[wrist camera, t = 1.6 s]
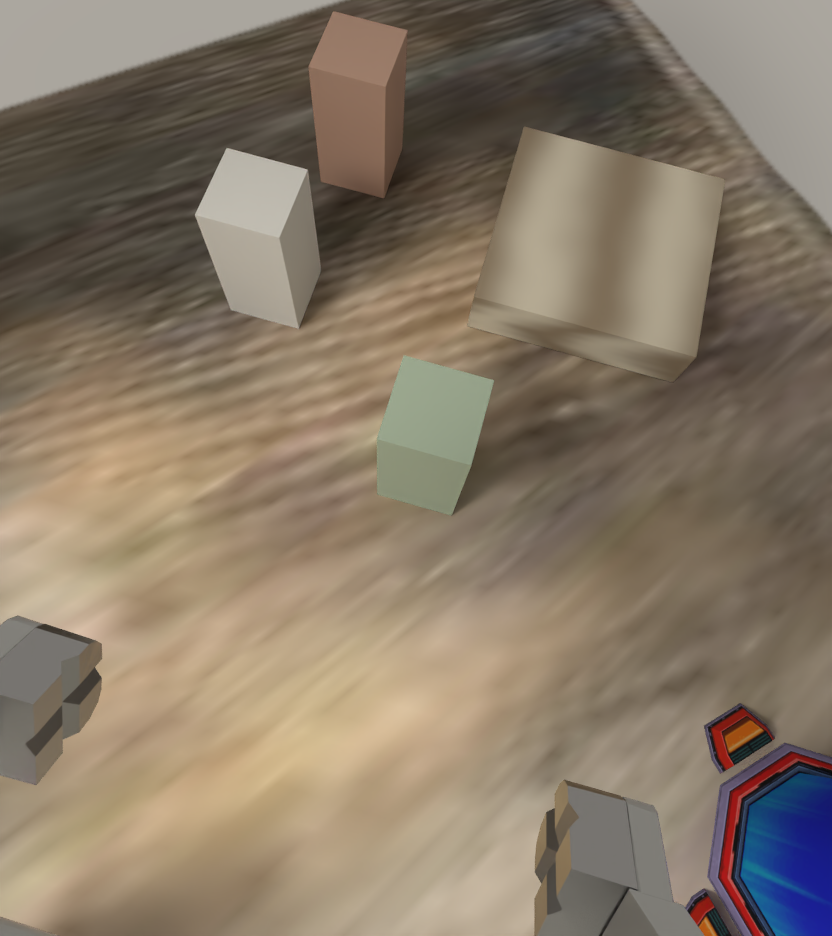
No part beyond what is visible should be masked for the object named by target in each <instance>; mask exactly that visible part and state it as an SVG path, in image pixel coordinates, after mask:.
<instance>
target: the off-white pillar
mask: <svg viewBox="0 0 832 936" xmlns="http://www.w3.org/2000/svg"><path fill="white" fill-rule="evenodd" d="M195 216H196V219H197V222H198V224H199V227H200V230H201V232H202V235H203V238H204V240H205V243H206V245H207V248H208V251H209V253H210V256H211V259H212V261H213V264H214V267H215V269H216V272H217V275H218V277H219V280H220V282H221V285H222V288H223V290H224V293H225V296H226V298H227V301H228V304H229V306H230V309H231V310H233V311H236V312H240V313H243V314H247V315H251V316H254V317H258V318H261V319H265V320H269V321H272V322H276V323H280V324H283V325H287V326H290V327H294V328H298V329H299V327H300V324H301V322H302V319H303V317H304V314H305V311H306V309H307V306H308V304H309V301H310V299H311V296H312V293H313V291H314V288H315V286H316V283H317V280H318V278H319V275H320V273H321V265H320V257H319V250H318V242H317V235H316V227H315V220H314V212H313V205H312V197H311V190H310V182H309V175H308V170H307V169H303V168H300V167H296V166H292V165H289V164H285V163H281V162H277V161H274V160H270V159H266V158H262V157H259V156H255V155H251V154H247V153H244V152H240V151H236V150H232V149H229V148H226V151H225V153H224V155H223V157H222V159H221V161H220V163H219V165H218V167H217V170H216V172H215V174H214V176H213V178H212V180H211V182H210V184H209V186H208V189H207V191H206V193H205V195H204V197H203V199H202V201H201V203H200V205H199V207H198V210H197V212H196V214H195Z"/></svg>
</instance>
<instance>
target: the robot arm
mask: <svg viewBox="0 0 832 936" xmlns="http://www.w3.org/2000/svg"><path fill="white" fill-rule="evenodd" d="M101 659H102V644H101V643H99V642H98V641H96V640H92V639H89V638H86V637H83V636H80V635H77V634H74V633H71V632H68V631H65V630H62V629H59V628H56V627H53V626H50V625H47V624H42V623H39V622H36V621H33V620H30V619H27V618H24V617H21V616H15V617H12V618H10V619H8V620H6V621H5V622H4V623H3V624H1V625H0V775H1V776H5V777H8V778H12V779H16V780H19V781H23V782H26V783H30V784H34V785H37V784H38V783H39V782H40V780H41V779H42V778H43V777H44V775H45V774H46V773H47V772H48V770H49V769H50V768H51V767H52V765H53V764H54V763H55V762H56V760H57V759H58V758H59V757H60V756H61V754H62V753H63V739H65V738H67V737H69V736H72V735H74V734H76V733H78V732H80V730H81V729H82V728H83V727H84V725H85V724H86V723H87V721H88V720H89V719H90V717H91V715H92V713H93V711H94V709H95V707H96V705H97V703H98V700H99V696H100V692H101V683H102V678H101V676H100V675H99V673H98V672H97V670H96V669H95V666H96V665H97V664H98V663H99V662H100V660H101ZM535 873H536V875H537V876H538V878H539V880H540V882H541V883H542V884H541V886H540V888H539V890H538V893H537V895H536V897H535V927H534V936H704V934H703V933H702V931H701V930H700V928H699V927H698V926H697V924H696V923H695V921H694V920H693V919H692V917H691V916H690V914H689V913H688V912H687V910H686V909H685V907H684V906H683V905H681V904H678V903H675V902H674V901H673V896H672V890H671V885H670V879H669V874H668V868H667V863H666V857H665V852H664V846H663V841H662V835H661V830H660V824H659V819H658V813H657V811H656V809H655V807H654V806H653V805H650V804H646V803H643V802H639V801H636V800H633V799H629V798H626V797H621V796H619V795H616V794H612V793H609V792H605V791H602V790H598V789H595V788H592V787H588V786H585V785H581V784H578V783H574V782H571V781H567V780H563V781H562V782H561V783H560V784H559V786H558V788H557V790H556V792H555V808H554V809H552V810H550V811H548V812H546V814H545V817H544V819H543V822H542V824H541V827H540V831H539V835H538V839H537V844H536V854H535ZM0 936H58V935H55V934H52V933H49V932H46V931H43V930H40V929H37V928H34V927H30V926H27V925H24V924H21V923H18V922H15V921H12V920H9V919H6V918H3V917H0Z"/></svg>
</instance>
